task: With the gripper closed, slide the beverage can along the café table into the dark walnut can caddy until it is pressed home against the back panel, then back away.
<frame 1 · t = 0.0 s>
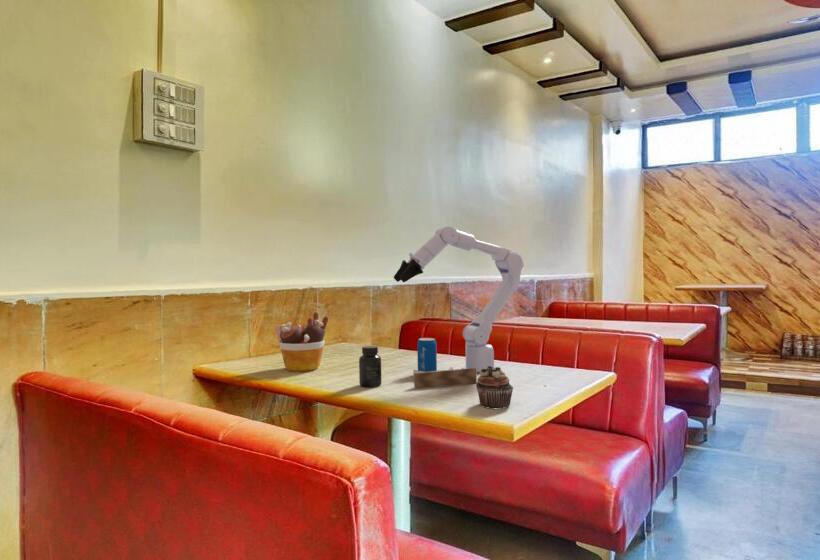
hand: (398, 279, 182), 32 cm above the table, tool tilted 50°, fingers open, 7 cm apart
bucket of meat: (303, 369, 198), on the table
supplement bottle: (370, 386, 169), on the table
caddy: (441, 382, 172), on the table
cupcake: (494, 405, 144), on the table
beverage can: (427, 374, 185), on the table
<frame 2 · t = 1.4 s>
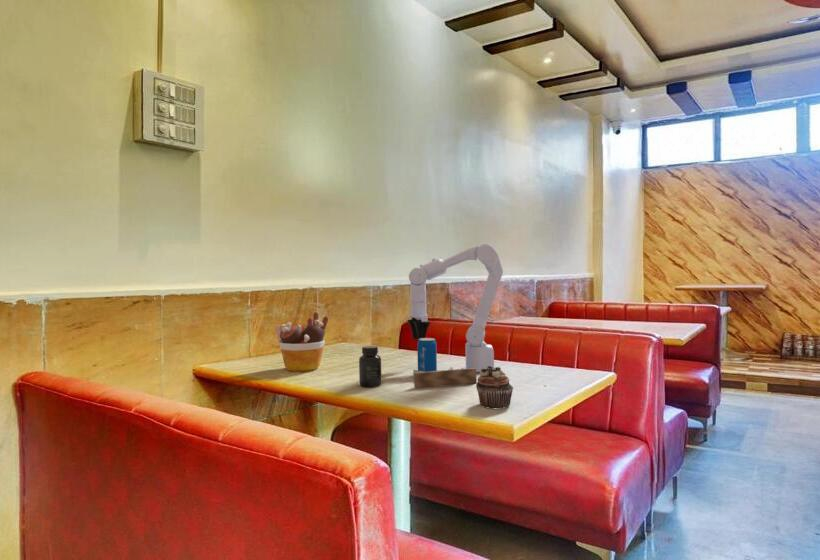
hand: (418, 340, 194), 10 cm above the table, tool pointing down, fingers open, 5 cm apart
nothing on the table moved.
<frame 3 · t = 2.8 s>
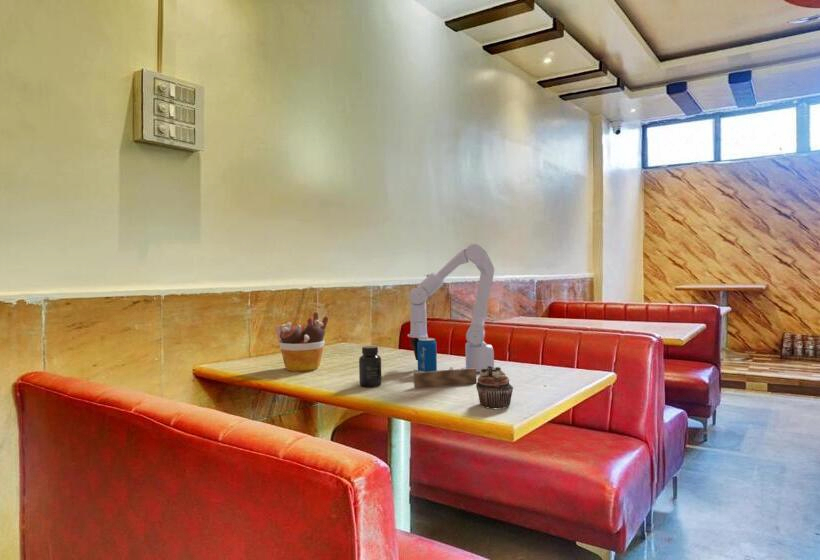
hand: (419, 359, 194), 3 cm above the table, tool pointing down, fingers closed
nothing on the table moved.
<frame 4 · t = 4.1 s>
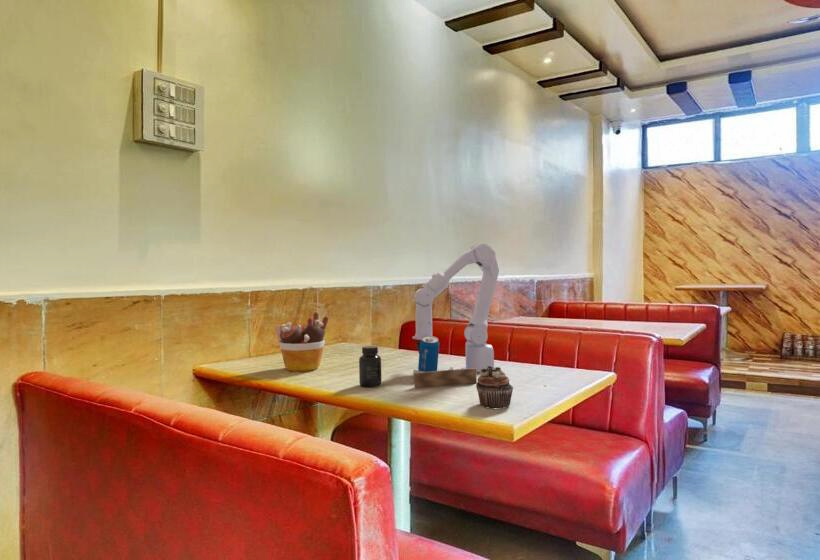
hand: (424, 362, 188), 3 cm above the table, tool pointing down, fingers closed
beverage can: (427, 372, 185), point 1 cm above the table, touching gripper
everything else where it was.
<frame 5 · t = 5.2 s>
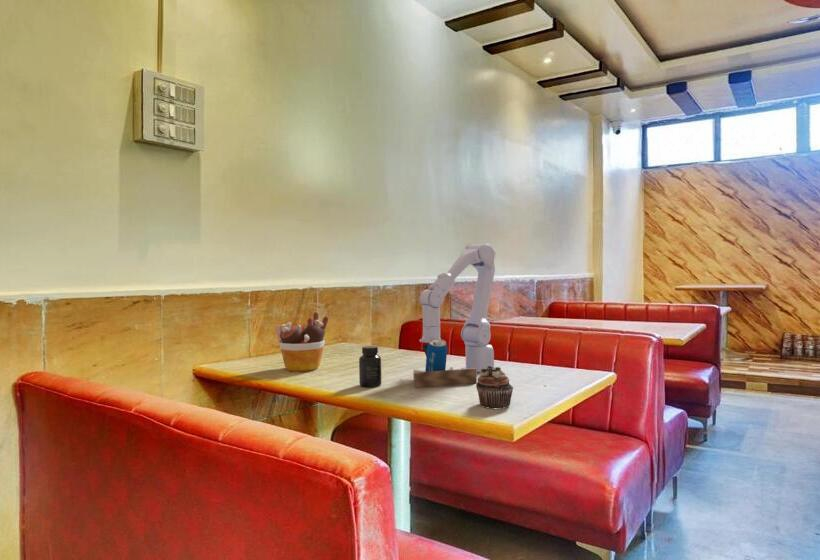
hand: (431, 366, 180), 3 cm above the table, tool pointing down, fingers closed
beverage can: (434, 376, 178), point 1 cm above the table, touching gripper
everything else where it was.
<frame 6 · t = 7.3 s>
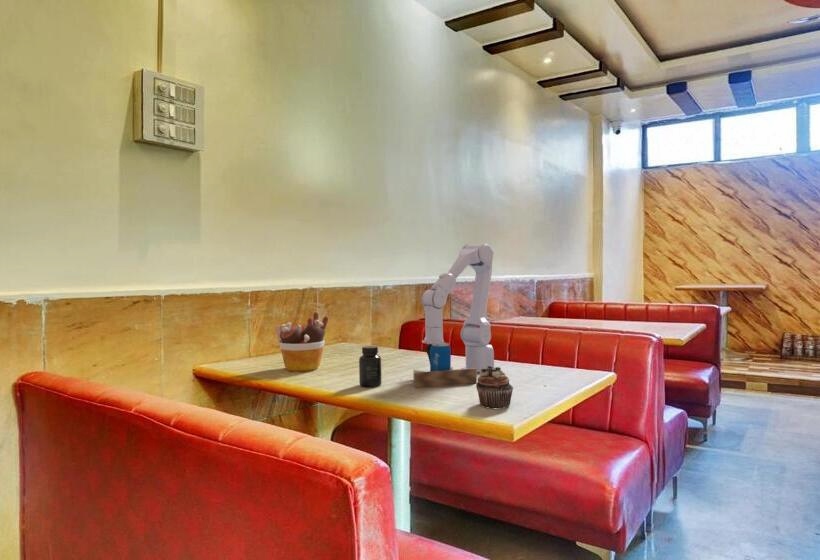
hand: (434, 368, 178), 3 cm above the table, tool pointing down, fingers closed
beverage can: (440, 381, 173), on the table, touching gripper
everything else where it was.
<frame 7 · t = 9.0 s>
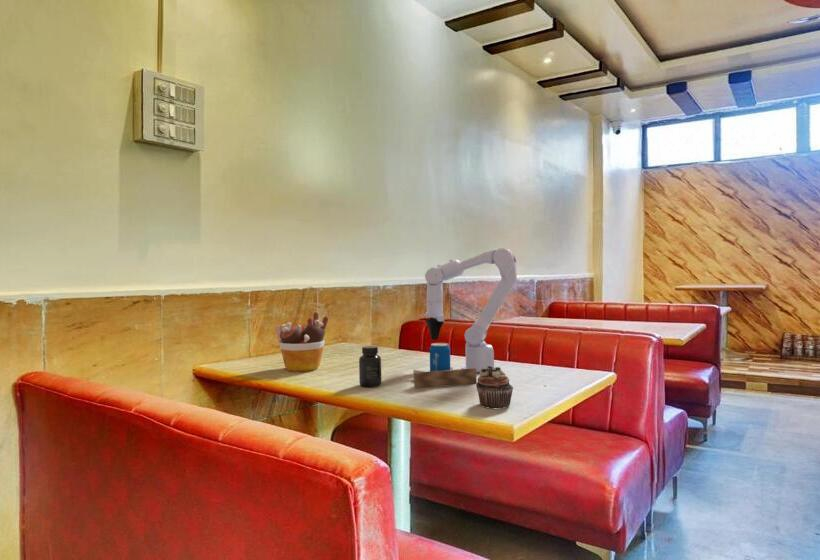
hand: (434, 339, 194), 10 cm above the table, tool pointing down, fingers closed
beverage can: (440, 382, 173), on the table
everything else where it was.
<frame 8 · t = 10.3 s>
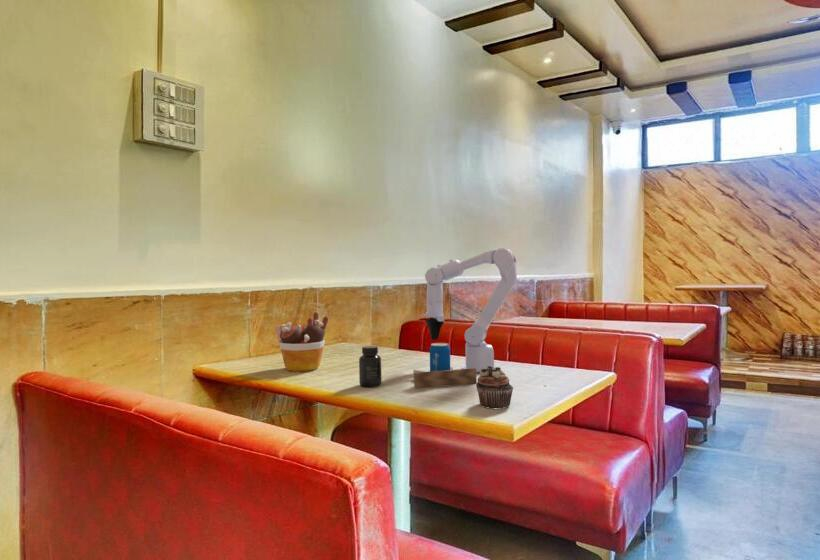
hand: (434, 339, 194), 10 cm above the table, tool pointing down, fingers closed
nothing on the table moved.
at the end: beverage can 1.2 cm from the caddy (horizontally); beverage can tilted 0°; beverage can moved 12.8 cm from its start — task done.
